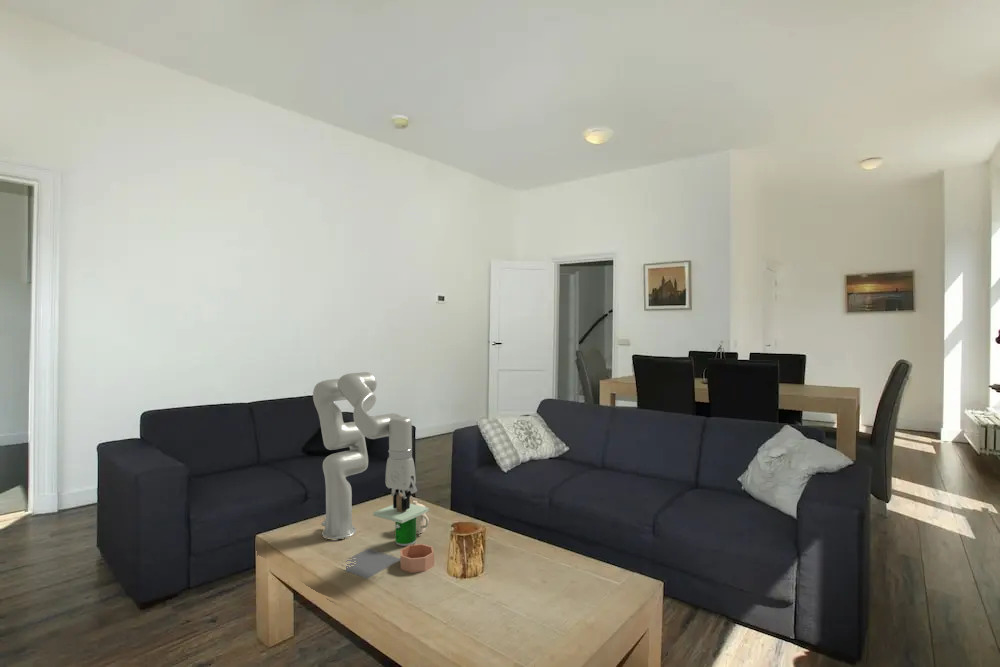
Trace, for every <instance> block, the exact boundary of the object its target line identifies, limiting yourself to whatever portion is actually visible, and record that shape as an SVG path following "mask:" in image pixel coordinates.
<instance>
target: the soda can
mask: <svg viewBox="0 0 1000 667" xmlns="http://www.w3.org/2000/svg"><path fill="white" fill-rule="evenodd" d="M394 524H395V529H394V530H395V544H396V545H398V546H400V547H407V546H409V545H415V543H416V542H417V535H416V517H415V518H413V519H410V520H408V521H406V522H404V523H399V522H395V521H394Z"/></svg>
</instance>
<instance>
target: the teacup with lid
mask: <svg viewBox="0 0 1000 667" xmlns="http://www.w3.org/2000/svg"><path fill="white" fill-rule="evenodd" d="M410 504H414V505H418V506H422V507H426V505H425V504H421V503H419V502H418V501H417V500H413V501H411V502H410ZM426 513H427V512H426ZM426 513H423V514H421V515H419V516H417V517H416V534H417V535H420V533H421V534H423V533H425V531H426V530H427V529H426V528H427V527H429V524H430V520H429V519H430V518H429V516H428V515H427V514H426Z"/></svg>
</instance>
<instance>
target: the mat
mask: <svg viewBox="0 0 1000 667" xmlns="http://www.w3.org/2000/svg"><path fill="white" fill-rule="evenodd" d="M351 557H352V558H351ZM351 557H349V558H347V559H352V560H347V561H351V562H354V561H356V562H354V563H356V564H354V563H350V564H347V565H350V566H351V565H354V566H351V567H349V566H346V570H343V571H345V572H347V573H351V574H353V575H356V576H358V577H361V578H364V579H366V580H368V579H369V578H371V577H373V576H374V575H376V574H378V573H380V572H382V571H384V570H386V569H387V568H389V567H391V566H392V565H394V564H396V563H398V562H399V561H400V558H399V557H396V556H394V555H391V554H387V553H384V552H380V551H377V550H374V549H371V548H366V549H365V550H363V551H360V552H358V553H357V554H355V555H353V556H351ZM353 558H356V559H353ZM347 561H346V562H347ZM342 566H343V565H342ZM347 567H348V568H347Z"/></svg>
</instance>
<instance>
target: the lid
mask: <svg viewBox="0 0 1000 667" xmlns="http://www.w3.org/2000/svg"><path fill="white" fill-rule="evenodd" d="M402 499H403V493H400V494H399V495H397V496H396V508H395V509H394V508H393V504H391V505H389V506H387V507H383V508H380V509H379V510H377V511H374V512H372V513H373V515H372V516H374V517H377V518H381V519H384V520H388V521H391V522H394V523H395V522H399V523H404V522H406V521H408V520H410V519H413V518H415V517H417V516H419V515H421V514H423V513H428V512H429V511H430V508H429V507H427V506H425V507H422V506H418V505H414V504H411V503H410V508H409V509H407V510H405V511H402Z"/></svg>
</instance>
